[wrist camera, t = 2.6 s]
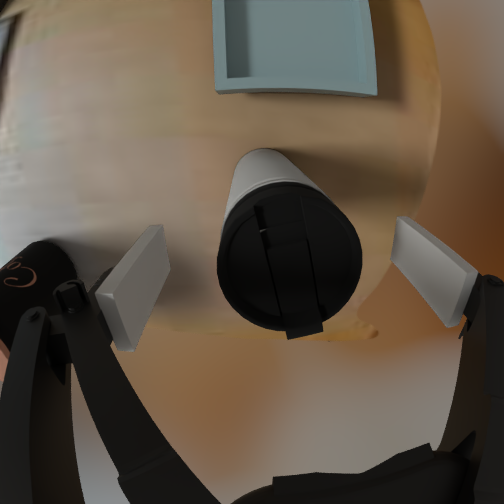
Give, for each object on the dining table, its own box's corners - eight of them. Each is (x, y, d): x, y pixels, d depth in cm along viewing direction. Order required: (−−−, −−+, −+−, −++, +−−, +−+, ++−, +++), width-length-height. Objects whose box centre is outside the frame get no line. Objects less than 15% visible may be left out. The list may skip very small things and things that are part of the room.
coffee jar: (71, 237, 31) (-14, 320, 15) (88, 303, 36) (32, 395, 20) (21, 237, 31) (-56, 304, 15) (39, 296, 35) (-18, 371, 19)
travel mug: (243, 214, 31) (240, 352, 13) (227, 156, 28) (191, 223, 10) (299, 201, 30) (369, 322, 12) (286, 142, 27) (363, 183, 9)
